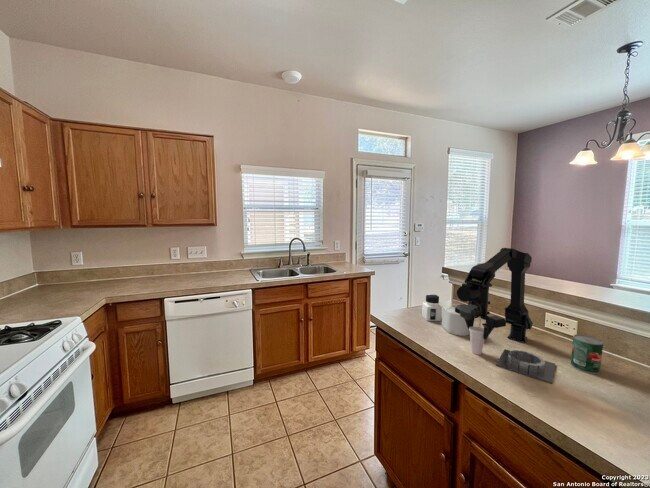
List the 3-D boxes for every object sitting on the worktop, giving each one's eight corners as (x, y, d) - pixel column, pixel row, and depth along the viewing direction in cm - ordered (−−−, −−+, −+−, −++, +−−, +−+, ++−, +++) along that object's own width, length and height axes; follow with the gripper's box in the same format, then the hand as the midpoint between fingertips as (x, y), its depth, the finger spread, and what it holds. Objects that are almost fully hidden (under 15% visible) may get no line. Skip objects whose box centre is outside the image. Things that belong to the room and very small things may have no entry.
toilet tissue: (471, 337, 123) (473, 316, 122) (443, 333, 127) (444, 313, 126) (467, 328, 133) (468, 308, 132) (441, 325, 137) (442, 306, 136)
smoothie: (488, 357, 106) (490, 322, 105) (470, 355, 107) (472, 321, 106) (482, 349, 112) (484, 316, 111) (465, 347, 114) (467, 315, 112)
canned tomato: (571, 359, 104) (573, 332, 103) (600, 368, 99) (603, 339, 98) (569, 367, 99) (572, 339, 98) (600, 376, 93) (603, 346, 92)
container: (441, 321, 142) (442, 297, 141) (426, 321, 142) (427, 297, 141) (435, 315, 150) (436, 293, 149) (421, 315, 150) (422, 292, 149)
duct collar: (504, 350, 112) (505, 343, 111) (555, 364, 101) (556, 357, 100) (495, 365, 100) (496, 357, 100) (551, 384, 89) (552, 375, 89)
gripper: (446, 293, 113) (444, 329, 115) (487, 307, 96) (484, 349, 97) (465, 291, 117) (463, 325, 119) (508, 304, 100) (505, 344, 102)
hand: (477, 335), depth 109 cm, fingers closed on smoothie, 6 cm apart
